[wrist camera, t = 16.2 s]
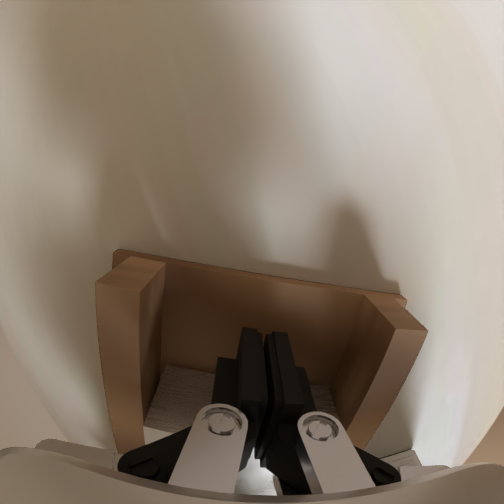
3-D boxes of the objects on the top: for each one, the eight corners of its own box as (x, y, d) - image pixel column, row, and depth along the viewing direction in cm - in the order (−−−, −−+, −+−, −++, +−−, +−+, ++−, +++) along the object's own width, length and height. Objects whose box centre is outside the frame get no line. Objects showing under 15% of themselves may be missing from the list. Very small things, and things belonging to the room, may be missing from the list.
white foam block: (298, 447, 13) (307, 501, 10) (166, 432, 13) (151, 486, 9) (327, 385, 12) (348, 445, 8) (166, 364, 12) (143, 426, 8)
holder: (295, 499, 17) (301, 548, 12) (138, 480, 16) (125, 529, 11) (401, 295, 12) (465, 351, 7) (118, 249, 11) (48, 294, 6)
